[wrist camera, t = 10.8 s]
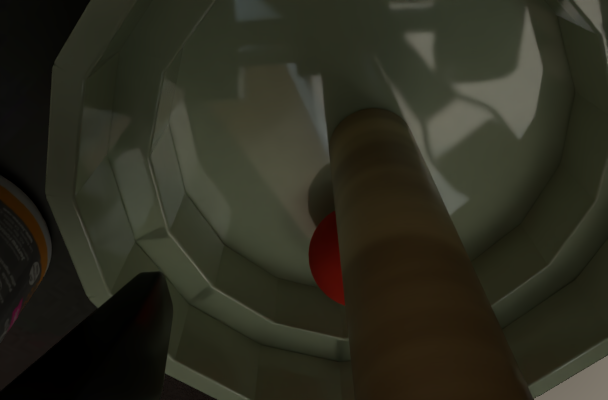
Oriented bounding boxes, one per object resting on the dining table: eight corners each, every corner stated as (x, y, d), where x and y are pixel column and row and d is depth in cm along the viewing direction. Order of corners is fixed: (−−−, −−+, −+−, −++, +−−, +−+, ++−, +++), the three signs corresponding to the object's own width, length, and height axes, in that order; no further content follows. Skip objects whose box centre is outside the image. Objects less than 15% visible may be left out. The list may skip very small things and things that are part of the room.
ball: (295, 234, 16) (383, 218, 17) (316, 326, 15) (410, 306, 16) (302, 196, 13) (407, 178, 14) (329, 305, 12) (442, 281, 13)
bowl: (648, 217, 17) (768, 329, 12) (273, 354, 20) (265, 479, 16) (551, -312, 10) (737, -464, 6) (13, 26, 13) (-122, 89, 9)
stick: (422, 168, 15) (696, 798, 4) (344, 193, 15) (432, 820, 5) (400, 94, 14) (707, 724, 3) (316, 124, 14) (357, 758, 4)
